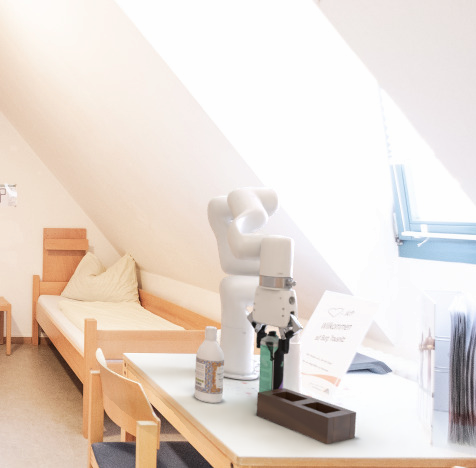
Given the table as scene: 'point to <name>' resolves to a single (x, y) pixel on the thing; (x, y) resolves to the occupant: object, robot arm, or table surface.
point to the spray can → (270, 363)
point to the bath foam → (209, 368)
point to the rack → (307, 415)
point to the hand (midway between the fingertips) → (272, 350)
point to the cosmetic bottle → (293, 365)
